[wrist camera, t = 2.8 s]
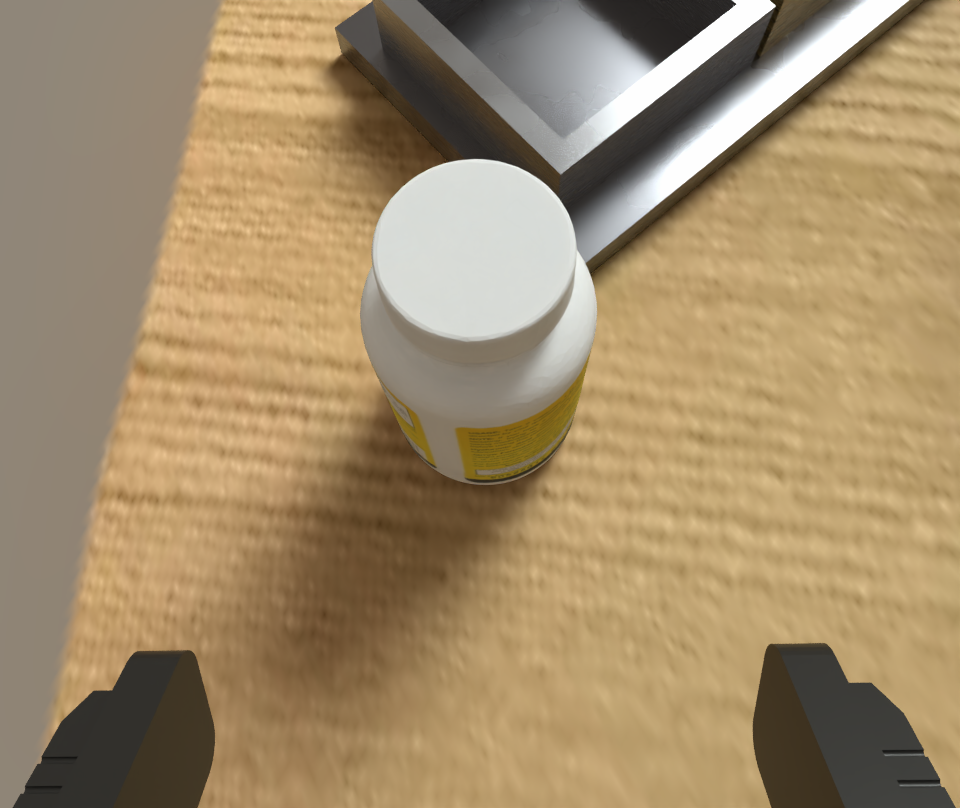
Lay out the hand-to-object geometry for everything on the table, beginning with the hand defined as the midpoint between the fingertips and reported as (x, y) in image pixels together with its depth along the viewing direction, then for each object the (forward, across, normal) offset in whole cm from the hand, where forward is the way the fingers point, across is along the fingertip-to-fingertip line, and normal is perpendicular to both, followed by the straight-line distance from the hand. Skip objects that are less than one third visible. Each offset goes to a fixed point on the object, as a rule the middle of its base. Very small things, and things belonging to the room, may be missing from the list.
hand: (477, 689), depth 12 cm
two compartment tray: (+24, -6, -8) cm, 26 cm away
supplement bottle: (+14, 0, +3) cm, 14 cm away
